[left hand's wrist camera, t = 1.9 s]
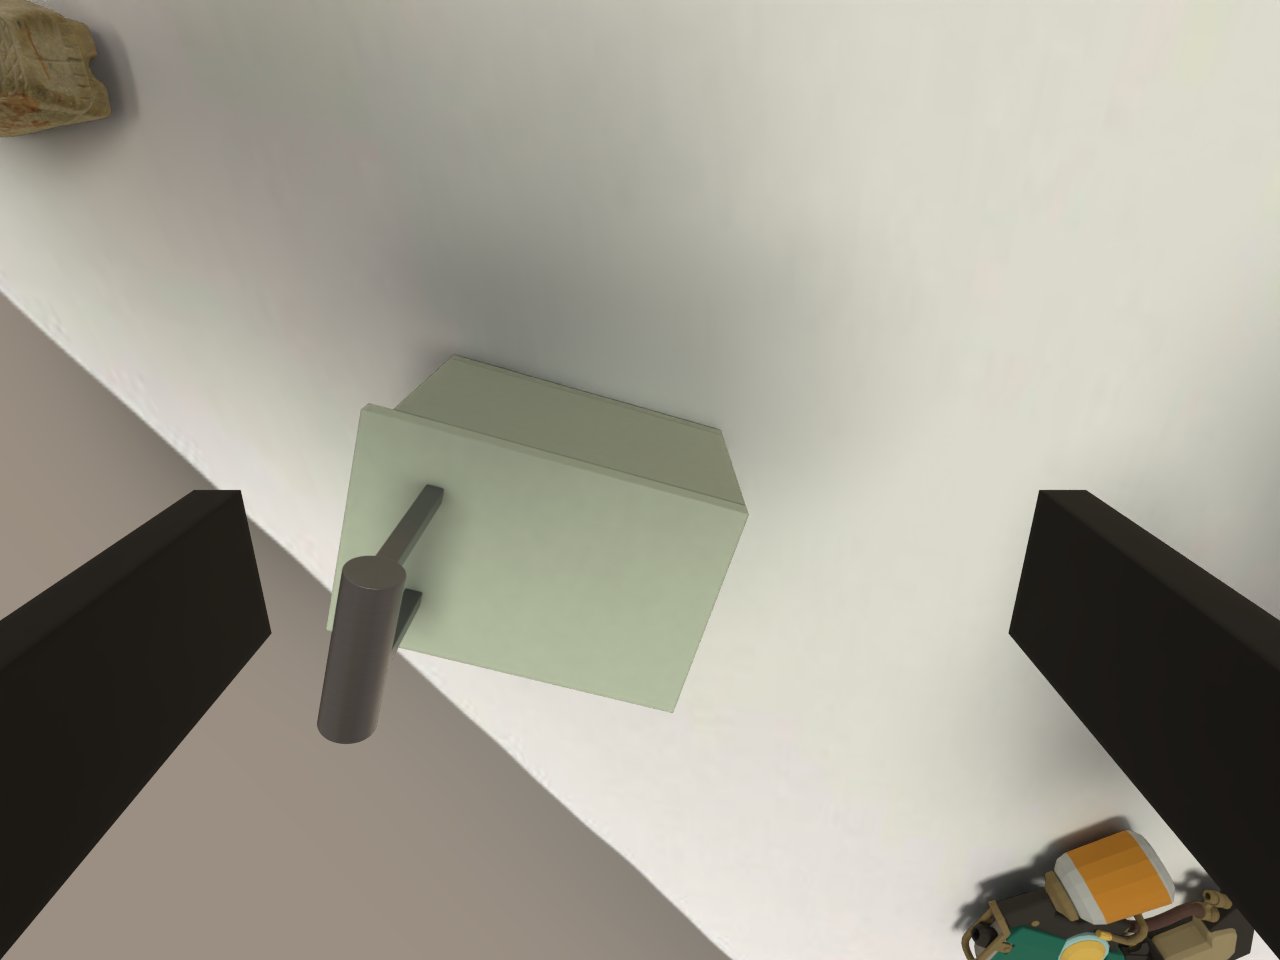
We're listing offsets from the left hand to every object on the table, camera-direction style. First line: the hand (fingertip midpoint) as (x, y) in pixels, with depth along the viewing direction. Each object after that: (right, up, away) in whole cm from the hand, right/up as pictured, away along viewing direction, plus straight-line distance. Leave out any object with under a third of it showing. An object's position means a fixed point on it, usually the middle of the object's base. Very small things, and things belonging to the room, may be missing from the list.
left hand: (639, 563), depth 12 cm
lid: (-4, -2, +17) cm, 18 cm away
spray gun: (+31, -27, +37) cm, 56 cm away
